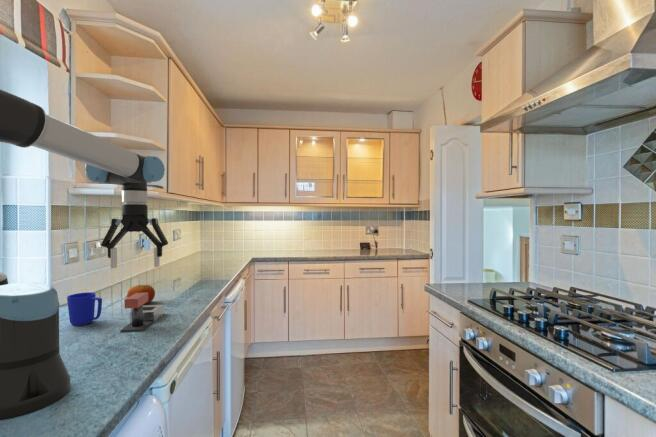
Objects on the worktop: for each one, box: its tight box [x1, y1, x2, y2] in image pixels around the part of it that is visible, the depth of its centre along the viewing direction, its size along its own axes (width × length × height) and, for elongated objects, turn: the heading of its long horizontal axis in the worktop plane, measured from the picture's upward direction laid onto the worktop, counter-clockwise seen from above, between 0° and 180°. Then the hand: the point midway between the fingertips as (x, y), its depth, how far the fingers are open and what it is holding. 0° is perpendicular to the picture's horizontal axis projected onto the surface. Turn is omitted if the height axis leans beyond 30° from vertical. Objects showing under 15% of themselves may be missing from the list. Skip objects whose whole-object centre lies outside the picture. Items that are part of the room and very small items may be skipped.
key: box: [124, 292, 148, 327], centre depth 118 cm, size 4×9×10 cm, turn 7°
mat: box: [120, 321, 154, 333], centre depth 118 cm, size 9×7×1 cm
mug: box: [66, 292, 103, 326], centre depth 122 cm, size 8×12×10 cm
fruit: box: [126, 284, 156, 305], centre depth 147 cm, size 11×10×8 cm
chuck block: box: [129, 304, 165, 324], centre depth 127 cm, size 10×8×4 cm
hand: (135, 267), depth 117 cm, fingers open, 13 cm apart
